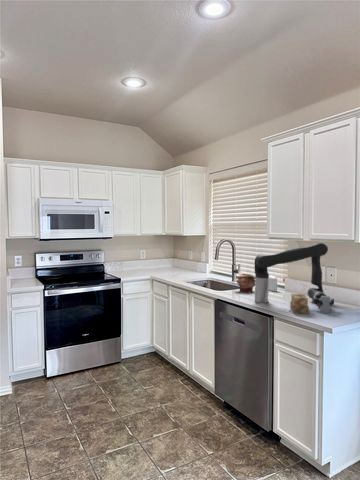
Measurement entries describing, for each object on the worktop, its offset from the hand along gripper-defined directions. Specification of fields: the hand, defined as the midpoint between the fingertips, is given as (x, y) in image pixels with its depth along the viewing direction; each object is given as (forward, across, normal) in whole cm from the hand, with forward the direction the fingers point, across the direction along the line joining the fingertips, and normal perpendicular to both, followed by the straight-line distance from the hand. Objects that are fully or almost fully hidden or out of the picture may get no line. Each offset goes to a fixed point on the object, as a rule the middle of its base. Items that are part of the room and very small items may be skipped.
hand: (326, 303), depth 213 cm
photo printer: (-70, -28, +6) cm, 75 cm away
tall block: (-3, 0, +6) cm, 7 cm away
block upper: (-1, -16, +1) cm, 16 cm away
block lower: (-1, -16, +6) cm, 17 cm away
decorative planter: (-60, -48, +6) cm, 77 cm away
